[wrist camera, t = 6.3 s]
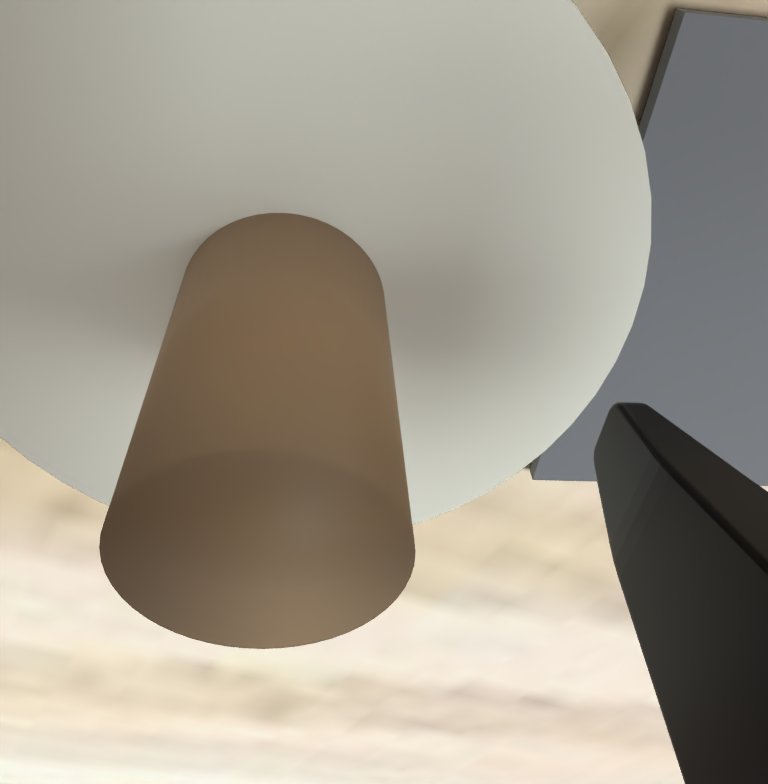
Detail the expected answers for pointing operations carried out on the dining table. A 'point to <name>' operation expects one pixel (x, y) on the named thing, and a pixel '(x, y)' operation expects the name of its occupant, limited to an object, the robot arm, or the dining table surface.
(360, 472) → the lid
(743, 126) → the mat
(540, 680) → the dining table surface
